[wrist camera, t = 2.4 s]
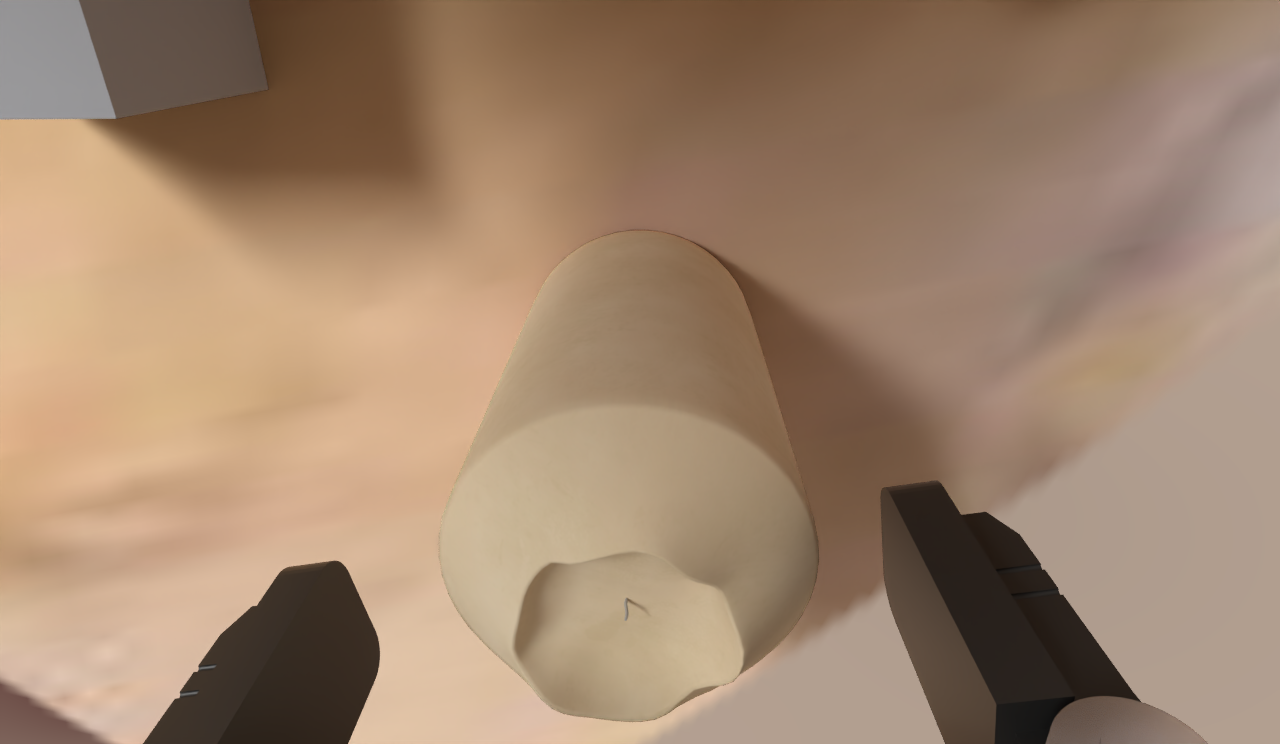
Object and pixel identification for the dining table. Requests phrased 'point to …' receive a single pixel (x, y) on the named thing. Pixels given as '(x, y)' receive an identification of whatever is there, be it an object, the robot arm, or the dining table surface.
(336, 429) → the dining table surface
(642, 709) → the candle
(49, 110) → the slate block
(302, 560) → the dining table surface
